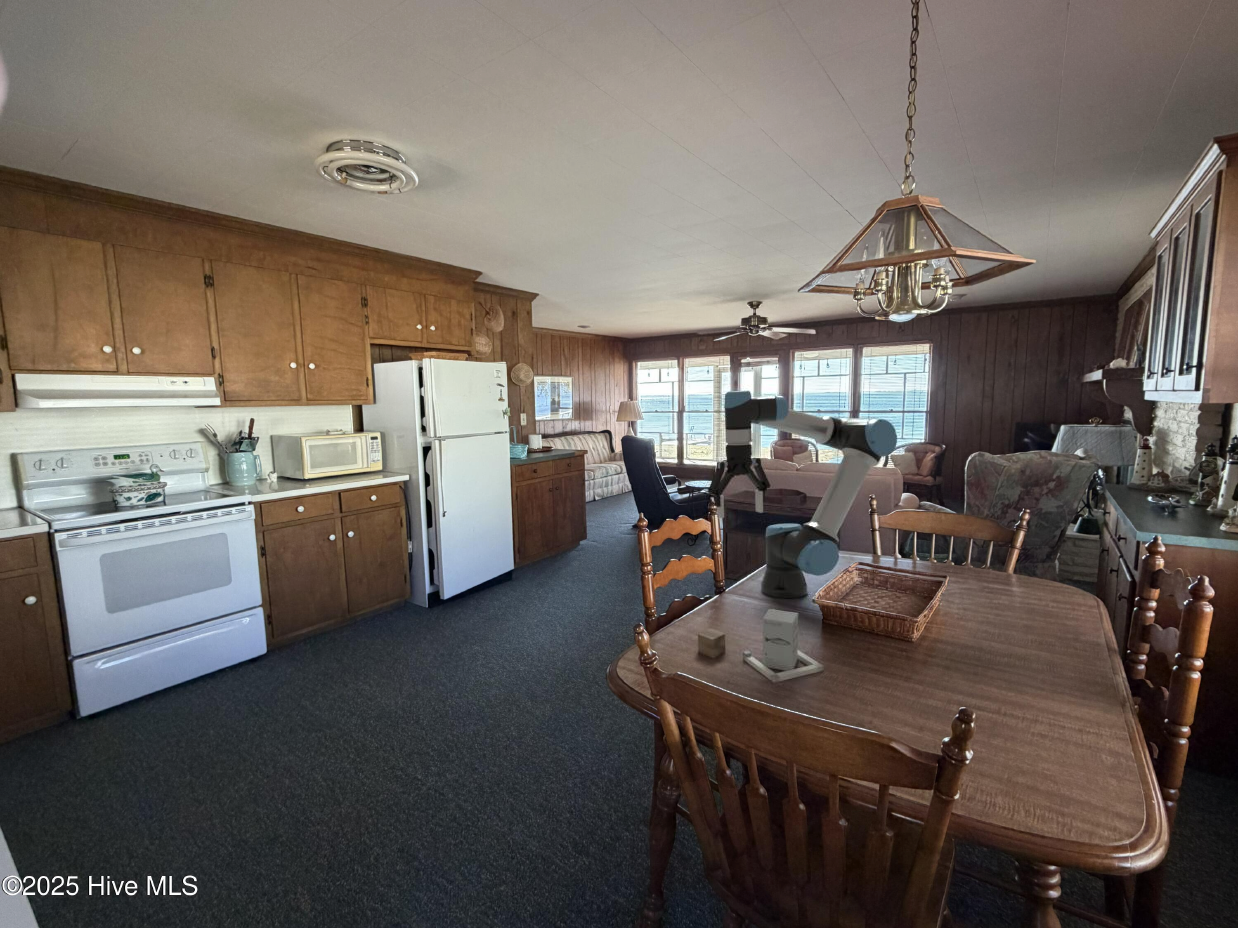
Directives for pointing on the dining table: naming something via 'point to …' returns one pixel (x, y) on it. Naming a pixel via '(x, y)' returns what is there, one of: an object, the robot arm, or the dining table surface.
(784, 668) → the supplement box
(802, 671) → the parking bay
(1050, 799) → the dining table surface
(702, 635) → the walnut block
